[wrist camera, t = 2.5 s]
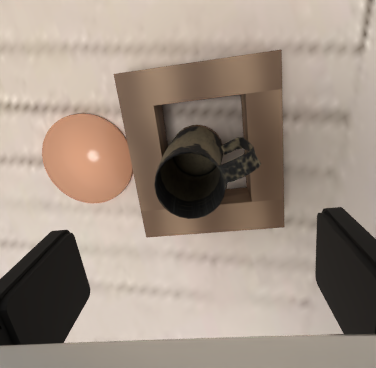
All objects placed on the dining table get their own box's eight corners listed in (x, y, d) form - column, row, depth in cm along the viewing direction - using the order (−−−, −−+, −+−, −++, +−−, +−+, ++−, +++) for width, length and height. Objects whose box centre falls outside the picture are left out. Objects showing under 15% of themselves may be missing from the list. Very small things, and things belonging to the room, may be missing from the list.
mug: (184, 184, 31) (169, 241, 20) (160, 140, 30) (129, 174, 18) (251, 153, 29) (276, 196, 18) (228, 105, 28) (241, 118, 16)
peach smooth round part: (123, 107, 29) (121, 108, 28) (140, 197, 32) (139, 199, 31) (33, 119, 30) (30, 120, 29) (59, 204, 33) (56, 206, 32)
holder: (271, 54, 26) (281, 49, 22) (275, 209, 31) (284, 227, 27) (126, 75, 28) (113, 74, 24) (153, 219, 33) (146, 237, 29)
